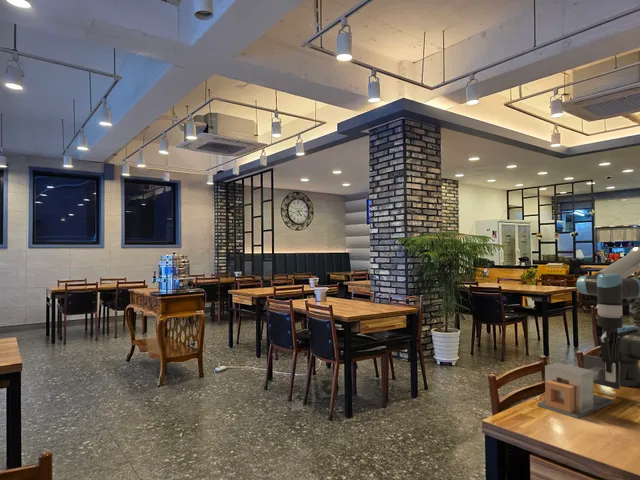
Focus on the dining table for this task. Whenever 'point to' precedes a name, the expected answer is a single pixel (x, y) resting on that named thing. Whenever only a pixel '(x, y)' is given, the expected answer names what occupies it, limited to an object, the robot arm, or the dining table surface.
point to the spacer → (568, 396)
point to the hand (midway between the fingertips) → (610, 380)
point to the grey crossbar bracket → (599, 372)
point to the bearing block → (575, 389)
